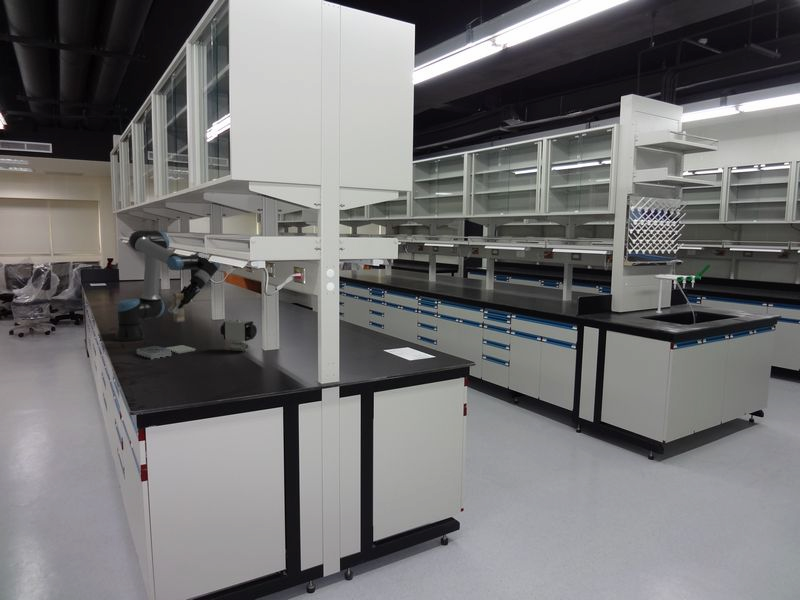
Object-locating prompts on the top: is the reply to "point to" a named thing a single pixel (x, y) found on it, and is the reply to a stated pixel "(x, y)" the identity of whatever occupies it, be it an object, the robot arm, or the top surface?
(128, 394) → the top surface
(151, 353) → the socket block
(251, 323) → the bench grinder
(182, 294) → the peg
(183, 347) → the pad
